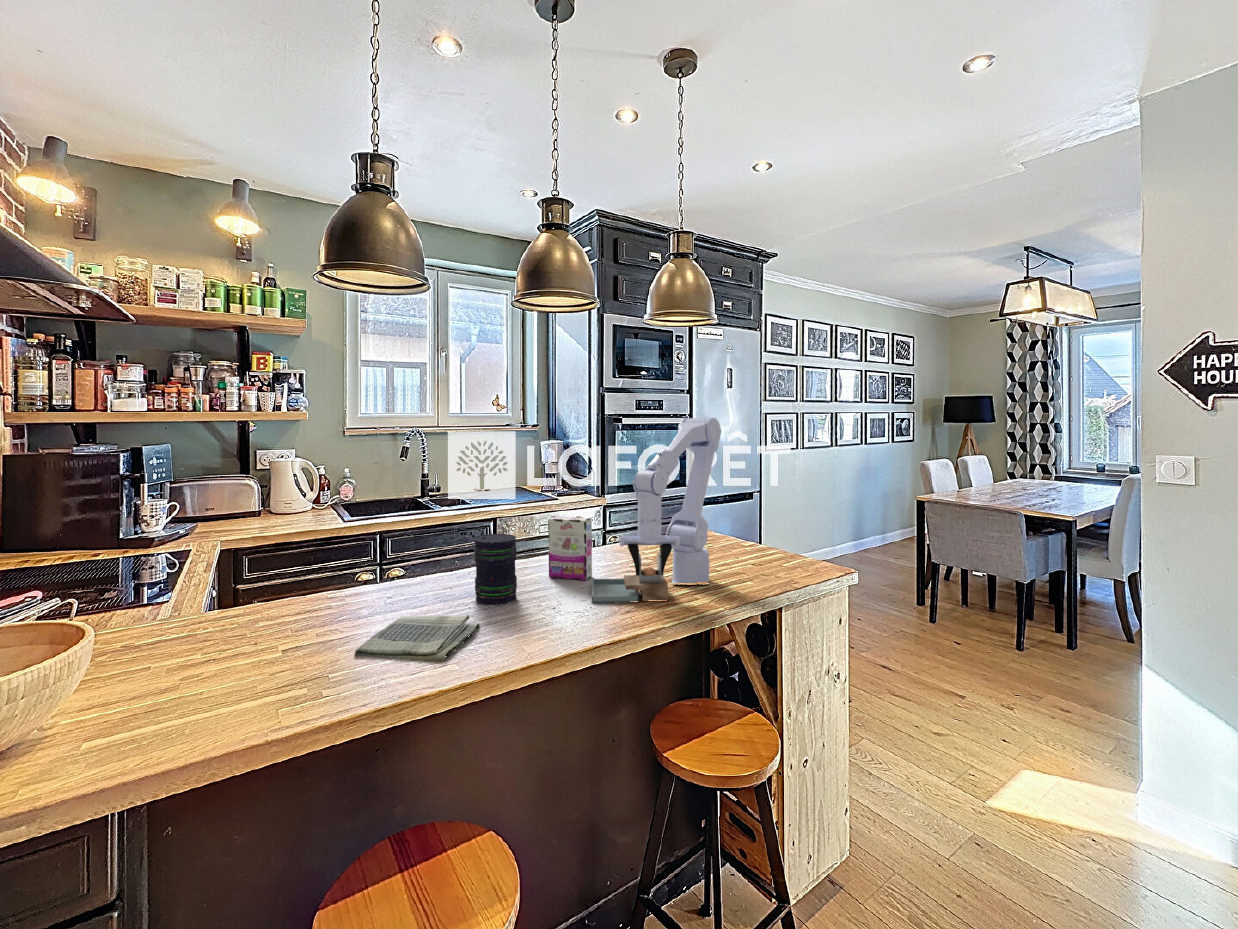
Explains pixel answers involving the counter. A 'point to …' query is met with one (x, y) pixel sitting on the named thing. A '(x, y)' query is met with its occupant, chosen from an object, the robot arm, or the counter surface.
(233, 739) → the counter surface
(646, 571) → the ball
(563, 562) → the candy bar box
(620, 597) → the tray
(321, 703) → the counter surface
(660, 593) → the stand
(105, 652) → the counter surface
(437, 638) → the dish towel
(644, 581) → the sleeve
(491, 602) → the storage jar
